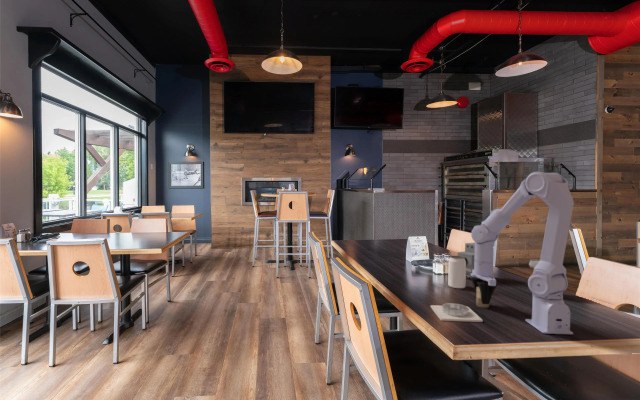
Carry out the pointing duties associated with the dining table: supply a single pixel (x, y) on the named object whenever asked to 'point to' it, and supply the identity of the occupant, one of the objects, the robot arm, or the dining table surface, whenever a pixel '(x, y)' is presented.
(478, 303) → the maple peg
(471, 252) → the circuit breaker
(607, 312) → the dining table surface
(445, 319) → the peg holder
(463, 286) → the can
